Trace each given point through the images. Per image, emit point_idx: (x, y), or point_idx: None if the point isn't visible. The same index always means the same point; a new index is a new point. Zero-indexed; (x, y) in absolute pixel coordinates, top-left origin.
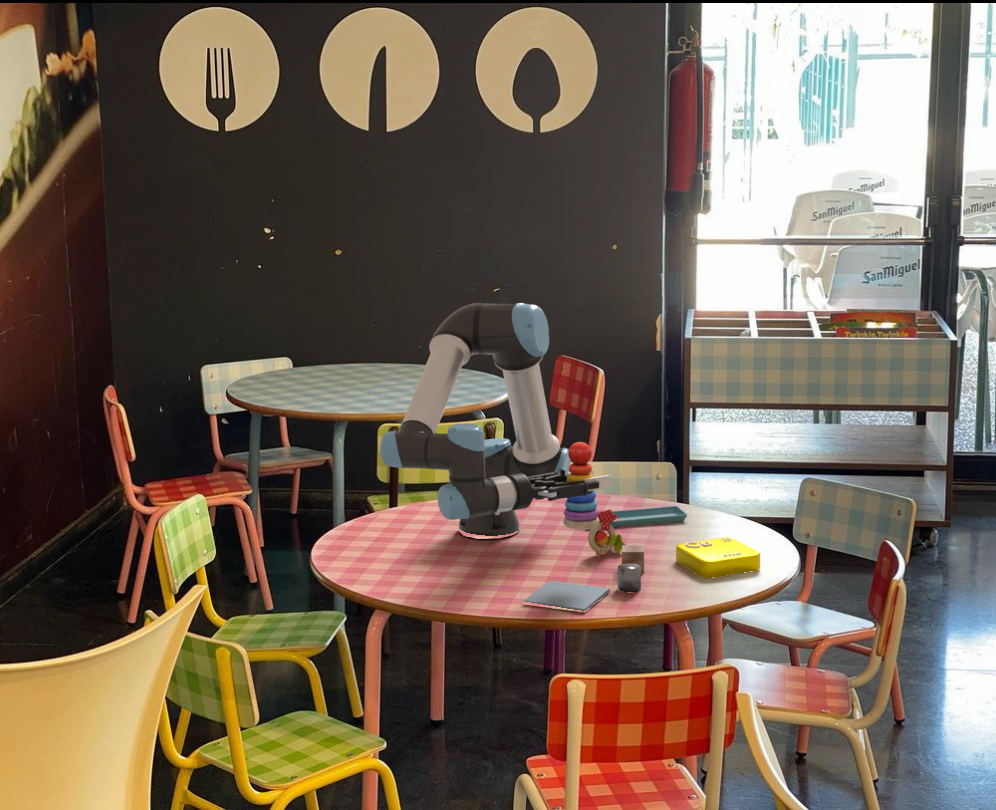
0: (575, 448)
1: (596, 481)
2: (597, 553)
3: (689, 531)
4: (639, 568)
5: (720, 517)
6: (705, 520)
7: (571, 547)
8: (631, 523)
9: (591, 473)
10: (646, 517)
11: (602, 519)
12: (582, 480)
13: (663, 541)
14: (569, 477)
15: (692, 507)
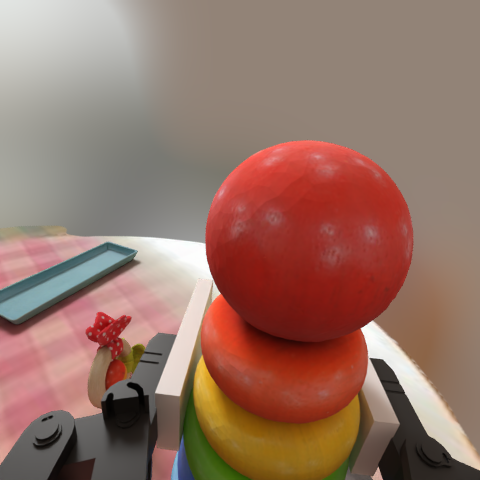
0: (385, 209)
1: (381, 369)
2: None
3: (161, 272)
4: (370, 477)
5: (157, 242)
6: (151, 250)
7: (25, 413)
8: (80, 287)
9: (210, 298)
10: (84, 267)
11: (108, 340)
12: (426, 453)
13: (161, 304)
14: (276, 466)
15: (113, 236)
